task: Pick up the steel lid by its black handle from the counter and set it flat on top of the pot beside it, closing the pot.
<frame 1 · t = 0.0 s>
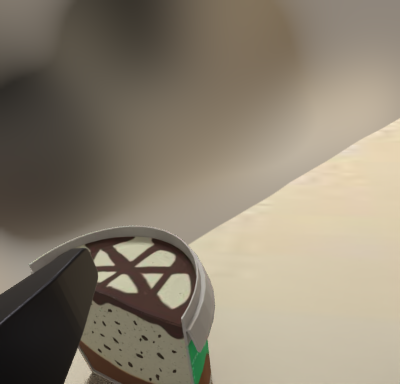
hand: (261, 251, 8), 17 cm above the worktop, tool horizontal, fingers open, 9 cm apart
food container: (167, 360, 25), on the worktop
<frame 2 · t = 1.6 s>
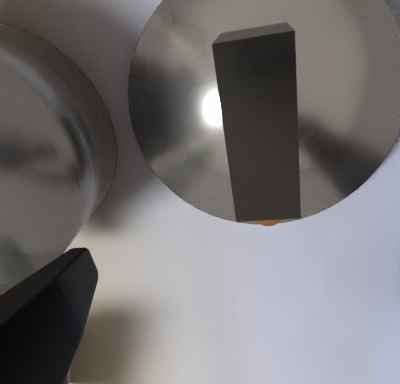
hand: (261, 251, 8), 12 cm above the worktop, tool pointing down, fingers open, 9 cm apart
lid: (259, 105, 19), on the worktop
pot: (15, 137, 22), on the worktop
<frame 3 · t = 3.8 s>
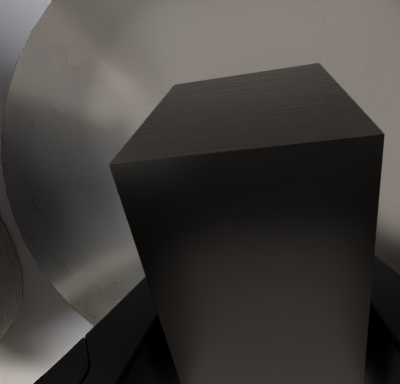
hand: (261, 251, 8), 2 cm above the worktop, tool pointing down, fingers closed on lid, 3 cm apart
lid: (259, 206, 10), on the worktop, touching gripper
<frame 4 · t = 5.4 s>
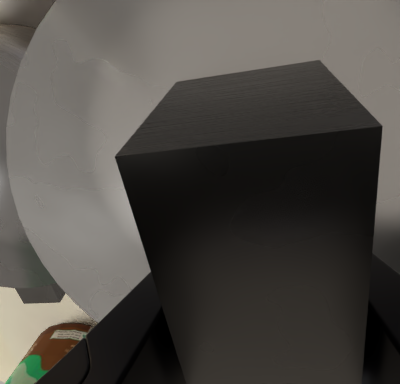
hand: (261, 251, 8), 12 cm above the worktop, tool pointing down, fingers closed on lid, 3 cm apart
lid: (260, 202, 10), point 10 cm above the worktop, touching gripper
food container: (58, 347, 33), on the worktop
pot: (37, 140, 22), on the worktop
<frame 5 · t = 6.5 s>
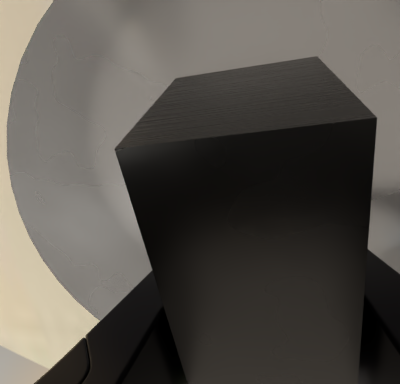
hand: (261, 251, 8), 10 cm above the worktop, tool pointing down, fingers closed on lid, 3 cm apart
lid: (259, 198, 10), point 8 cm above the worktop, touching gripper
when the fingers open (9 cm above the worktop, at t = 7.3 s): lid stays where it is, resting on pot.
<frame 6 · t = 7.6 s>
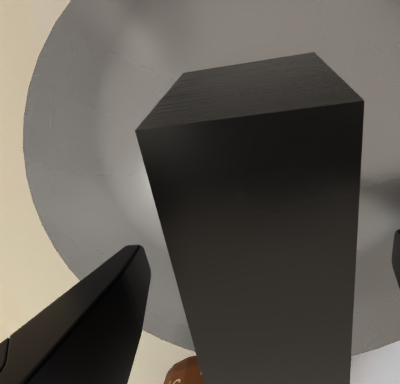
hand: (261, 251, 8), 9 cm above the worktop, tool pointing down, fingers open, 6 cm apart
lid: (260, 188, 11), point 6 cm above the worktop, touching pot
food container: (189, 380, 27), on the worktop
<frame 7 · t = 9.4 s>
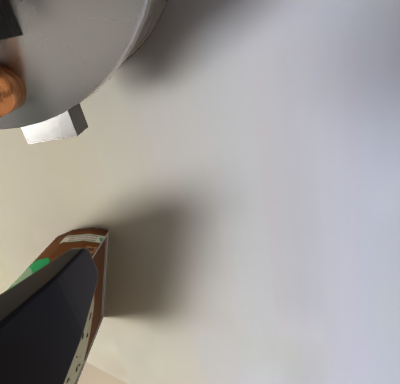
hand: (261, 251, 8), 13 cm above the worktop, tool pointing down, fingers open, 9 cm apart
food container: (68, 267, 27), on the worktop
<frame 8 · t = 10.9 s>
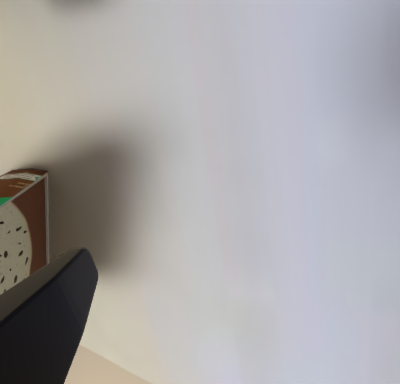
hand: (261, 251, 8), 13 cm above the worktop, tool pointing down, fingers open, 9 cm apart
food container: (11, 213, 26), on the worktop
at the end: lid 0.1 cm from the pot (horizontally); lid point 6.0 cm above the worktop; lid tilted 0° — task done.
